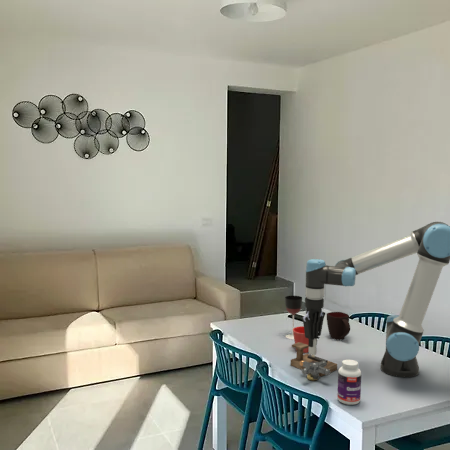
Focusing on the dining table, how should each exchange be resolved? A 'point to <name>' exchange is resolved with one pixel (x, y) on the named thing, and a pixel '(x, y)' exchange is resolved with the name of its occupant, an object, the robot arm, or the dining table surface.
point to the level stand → (309, 358)
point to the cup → (338, 325)
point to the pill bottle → (349, 383)
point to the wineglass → (293, 309)
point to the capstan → (314, 369)
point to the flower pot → (300, 337)
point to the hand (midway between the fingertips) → (312, 353)
